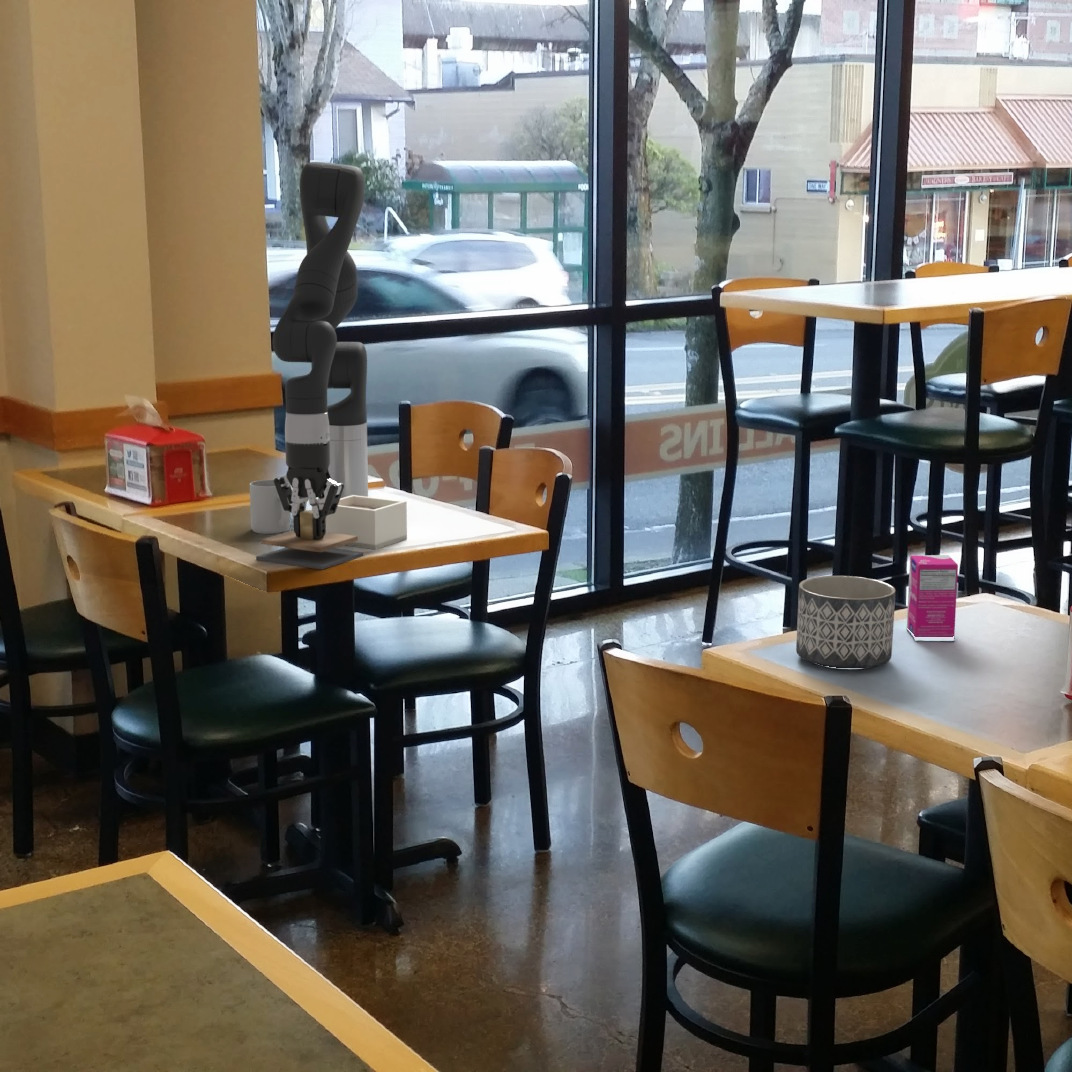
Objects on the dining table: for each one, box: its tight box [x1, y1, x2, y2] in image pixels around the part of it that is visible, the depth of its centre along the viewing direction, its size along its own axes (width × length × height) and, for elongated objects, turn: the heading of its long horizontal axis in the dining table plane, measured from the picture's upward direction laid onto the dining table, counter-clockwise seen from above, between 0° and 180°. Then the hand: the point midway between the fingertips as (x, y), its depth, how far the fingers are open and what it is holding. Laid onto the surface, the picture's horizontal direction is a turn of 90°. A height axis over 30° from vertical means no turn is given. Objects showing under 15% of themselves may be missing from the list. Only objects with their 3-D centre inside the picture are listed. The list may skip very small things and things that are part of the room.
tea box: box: [326, 495, 408, 550], centre depth 274 cm, size 12×10×7 cm
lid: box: [261, 509, 358, 552], centre depth 260 cm, size 13×11×5 cm
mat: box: [255, 547, 365, 570], centre depth 261 cm, size 14×12×1 cm
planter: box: [795, 575, 896, 669], centre depth 203 cm, size 13×13×10 cm
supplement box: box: [906, 554, 959, 637], centre depth 215 cm, size 6×6×12 cm
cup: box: [249, 479, 292, 535], centre depth 281 cm, size 7×10×9 cm
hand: (310, 536), depth 261 cm, fingers closed on lid, 3 cm apart
